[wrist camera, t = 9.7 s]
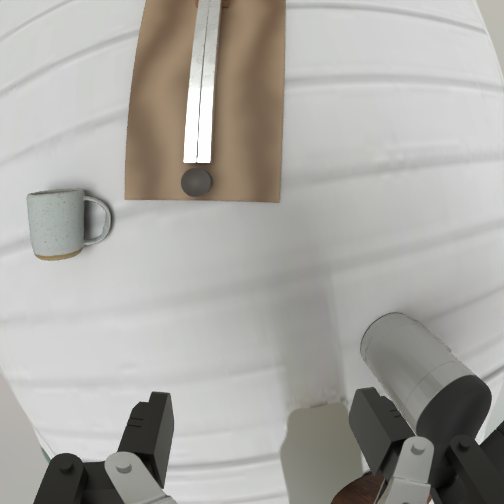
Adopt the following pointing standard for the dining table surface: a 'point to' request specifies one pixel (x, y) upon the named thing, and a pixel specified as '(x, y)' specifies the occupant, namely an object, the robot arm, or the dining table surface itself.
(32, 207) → the ceramic mug
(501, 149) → the dining table surface
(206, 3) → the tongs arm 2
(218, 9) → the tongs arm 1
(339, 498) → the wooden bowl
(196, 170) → the walnut board
